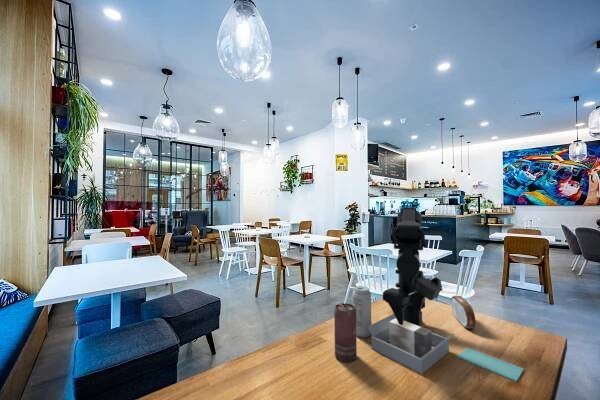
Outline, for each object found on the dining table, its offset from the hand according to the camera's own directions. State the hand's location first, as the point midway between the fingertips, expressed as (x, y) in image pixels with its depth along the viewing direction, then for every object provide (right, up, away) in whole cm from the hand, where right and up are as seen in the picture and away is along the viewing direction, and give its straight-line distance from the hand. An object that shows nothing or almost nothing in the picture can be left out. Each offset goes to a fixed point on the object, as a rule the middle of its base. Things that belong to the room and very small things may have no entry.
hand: (409, 319), depth 78 cm
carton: (0, -9, 0) cm, 9 cm away
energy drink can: (-12, -9, +10) cm, 18 cm away
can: (-20, -9, -3) cm, 22 cm away
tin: (+26, -9, +17) cm, 32 cm away
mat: (+18, -9, -7) cm, 22 cm away
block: (0, -9, 0) cm, 9 cm away
